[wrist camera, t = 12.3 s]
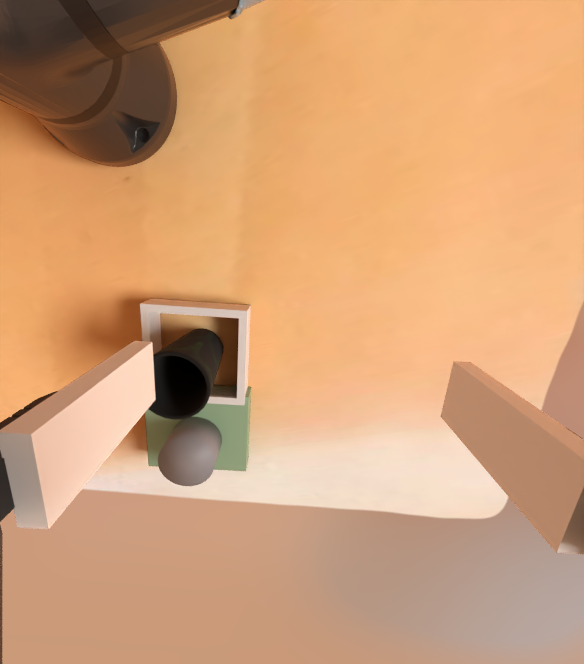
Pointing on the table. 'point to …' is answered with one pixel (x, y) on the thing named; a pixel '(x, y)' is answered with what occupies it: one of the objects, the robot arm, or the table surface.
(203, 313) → the multicoloured boxy piece
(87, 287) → the table surface
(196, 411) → the cup
